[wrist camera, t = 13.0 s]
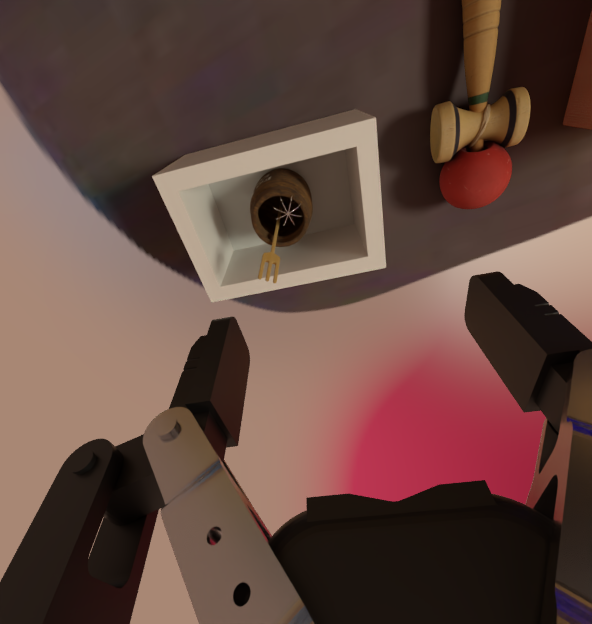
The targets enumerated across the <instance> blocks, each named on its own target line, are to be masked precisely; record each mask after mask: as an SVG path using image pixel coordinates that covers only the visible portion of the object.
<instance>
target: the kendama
mask: <svg viewBox="0 0 592 624" xmlns="http://www.w3.org/2000/svg"><path fill="white" fill-rule="evenodd" d="M500 8H501V0H462V9H463V23H464V25H463V37H464V39H465V40H464V64H465V76H466V85H467V94H468V102H469V111H467V110H463V109H460V108H458V107H456V106H455V105H453V104H452V103H451V102H450V101H448V102H444V103H441V104H437V105H435V107H434V109H433V111H432V116H431V127H430V145H431V153H432V157H433V160H434V162H435V163H442V162H445V164H444V166H443V168H442V170H441V174H440V180H439V182H440V190H441V192H442V195H443V197H444V198H445V199H446V201H447V202H448V203H450V204H451V205H453V206H455V207H457V208H461V209H476V208H480V207H483V206H486V205H488V204H490V203H491V202H493V201H494V200H496V199H497V198H498V197H499V196H500V195H501V194H502V193H503V191H504V190H505V189H506V187H507V185H508V183H509V181H510V178H511V173H512V162H511V159H510V156H509V154H508V153H507V151H506V150H505V148H506V147H510V146H514V145H517V144H518V143H519V142H520V141H521V140H522V139H523V137H524V135H525V133H526V130H527V127H528V123H529V119H530V109H531V105H530V96H529V93H528V91H527V90H526V88H524V87H518V88H512V89H509V90H507V91H506V92H505V93H504V95H503V96H502V97H501V98H500V99H499V100H498V101H496V102H495V103H494V104H492V105H490V104H487V100H488V95H489V89H490V84H491V78H492V72H493V66H494V60H495V53H496V45H497V36H498V29H497V27H498V25H499V17H500V12H499V10H500Z"/></svg>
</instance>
